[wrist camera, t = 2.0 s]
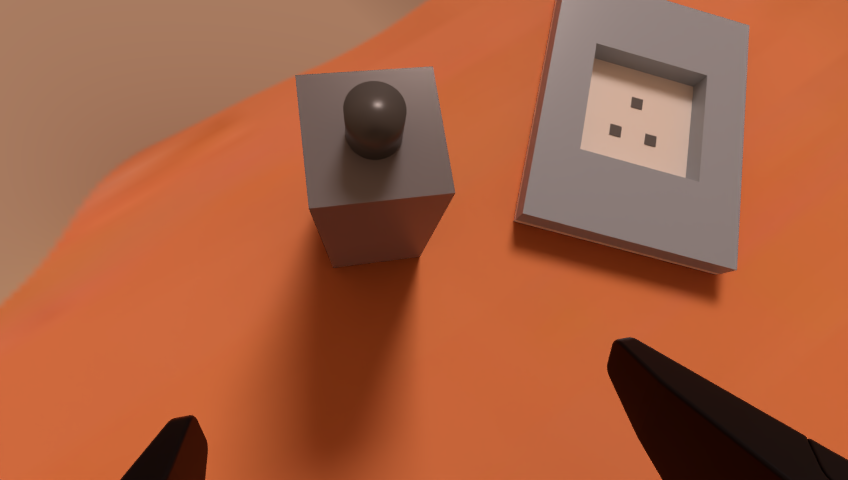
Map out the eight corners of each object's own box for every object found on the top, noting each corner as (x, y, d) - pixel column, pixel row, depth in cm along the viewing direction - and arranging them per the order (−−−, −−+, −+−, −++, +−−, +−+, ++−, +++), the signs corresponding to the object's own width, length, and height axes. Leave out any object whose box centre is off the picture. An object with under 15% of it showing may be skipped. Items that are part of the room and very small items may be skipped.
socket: (716, 274, 26) (736, 270, 24) (513, 221, 25) (522, 213, 23) (730, 41, 30) (749, 25, 28) (557, -11, 29) (567, -30, 28)
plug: (419, 256, 24) (465, 175, 13) (333, 267, 23) (302, 191, 12) (407, 177, 25) (439, 36, 14) (324, 185, 24) (287, 44, 13)
